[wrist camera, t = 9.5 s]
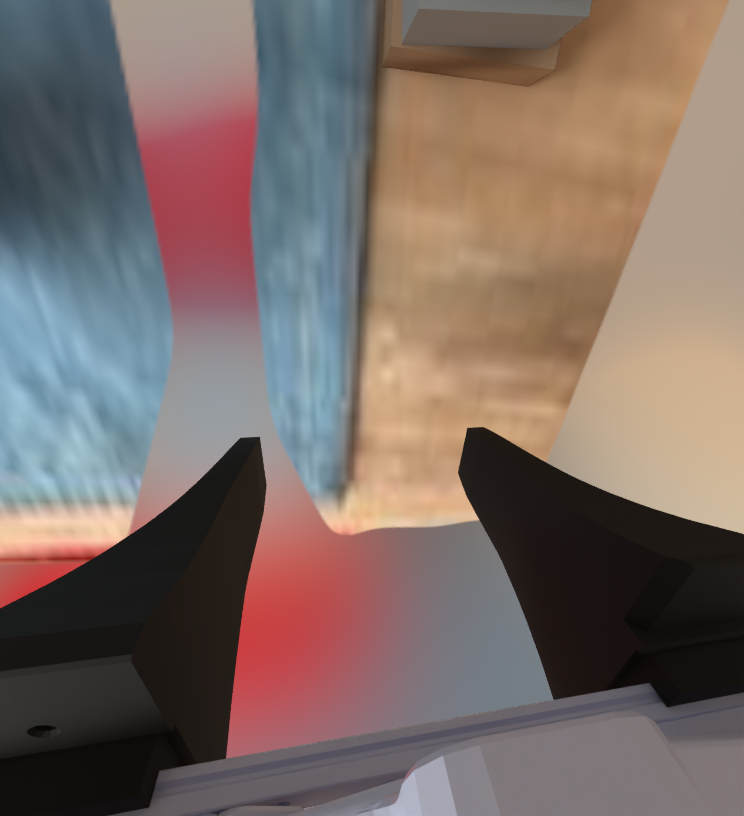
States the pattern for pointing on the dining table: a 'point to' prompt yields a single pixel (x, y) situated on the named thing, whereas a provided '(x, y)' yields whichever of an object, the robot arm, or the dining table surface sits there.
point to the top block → (490, 22)
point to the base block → (464, 56)
